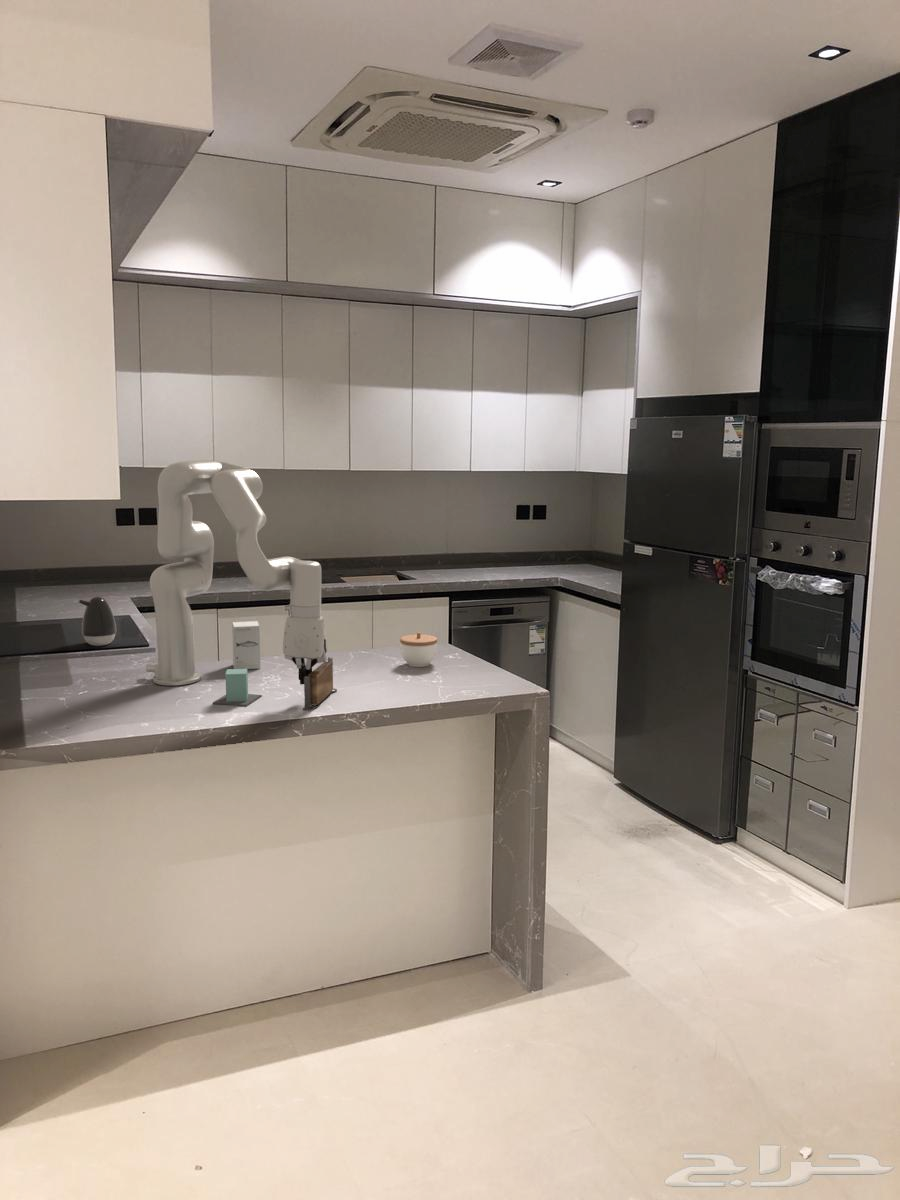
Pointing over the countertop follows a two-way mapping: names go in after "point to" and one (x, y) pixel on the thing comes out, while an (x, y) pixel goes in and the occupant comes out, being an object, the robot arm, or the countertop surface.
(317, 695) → the gate
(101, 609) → the pump dispenser
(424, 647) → the lidded jar
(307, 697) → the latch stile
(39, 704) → the countertop surface
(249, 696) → the mat
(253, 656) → the supplement box
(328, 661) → the gate post
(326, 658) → the robot arm
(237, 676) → the block
